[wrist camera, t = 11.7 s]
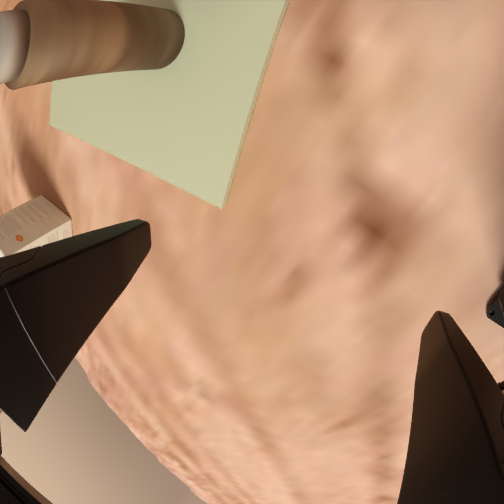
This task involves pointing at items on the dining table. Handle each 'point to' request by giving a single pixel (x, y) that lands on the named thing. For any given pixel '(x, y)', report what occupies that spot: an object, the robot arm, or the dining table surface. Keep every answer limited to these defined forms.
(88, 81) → the placemat
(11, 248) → the small box
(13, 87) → the pepper mill
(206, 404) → the dining table surface
